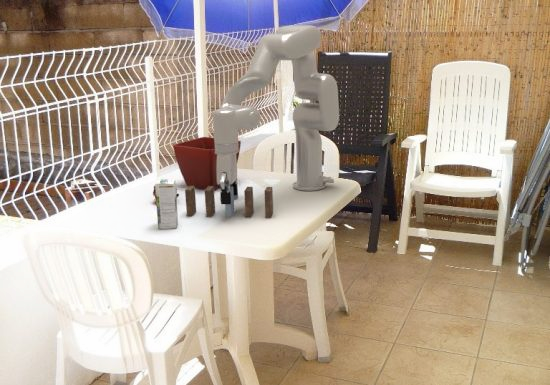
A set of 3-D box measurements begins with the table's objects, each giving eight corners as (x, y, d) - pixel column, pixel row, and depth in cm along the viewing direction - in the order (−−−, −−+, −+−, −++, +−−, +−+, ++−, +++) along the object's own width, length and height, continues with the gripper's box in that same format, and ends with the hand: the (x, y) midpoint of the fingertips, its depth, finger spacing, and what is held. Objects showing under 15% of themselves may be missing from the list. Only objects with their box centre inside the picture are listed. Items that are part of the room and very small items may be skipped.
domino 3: (225, 217, 191) (224, 190, 188) (229, 212, 195) (227, 186, 193) (231, 217, 190) (229, 190, 188) (234, 212, 195) (233, 186, 193)
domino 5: (273, 213, 193) (272, 186, 191) (270, 218, 189) (270, 191, 186) (267, 213, 194) (266, 186, 191) (265, 218, 189) (264, 191, 186)
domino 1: (196, 211, 197) (194, 186, 195) (192, 216, 192) (190, 190, 190) (191, 211, 197) (189, 185, 195) (186, 216, 193) (184, 190, 190)
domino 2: (215, 212, 196) (213, 186, 194) (211, 217, 191) (210, 190, 189) (210, 212, 196) (208, 186, 194) (206, 216, 192) (204, 190, 189)
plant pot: (244, 182, 232) (242, 140, 228) (214, 194, 217) (211, 149, 212) (206, 176, 242) (203, 136, 237) (174, 188, 227) (171, 145, 222)
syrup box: (160, 223, 187) (156, 179, 183) (178, 222, 187) (175, 178, 183) (158, 229, 181) (154, 184, 177) (177, 228, 181) (173, 183, 177)
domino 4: (253, 212, 194) (252, 186, 192) (250, 217, 189) (249, 190, 187) (248, 212, 194) (247, 186, 192) (245, 217, 190) (244, 190, 187)
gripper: (221, 142, 195) (224, 192, 200) (208, 153, 179) (211, 207, 184) (243, 142, 194) (245, 192, 199) (232, 153, 178) (235, 207, 183)
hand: (229, 199), depth 191 cm, fingers open, 9 cm apart
